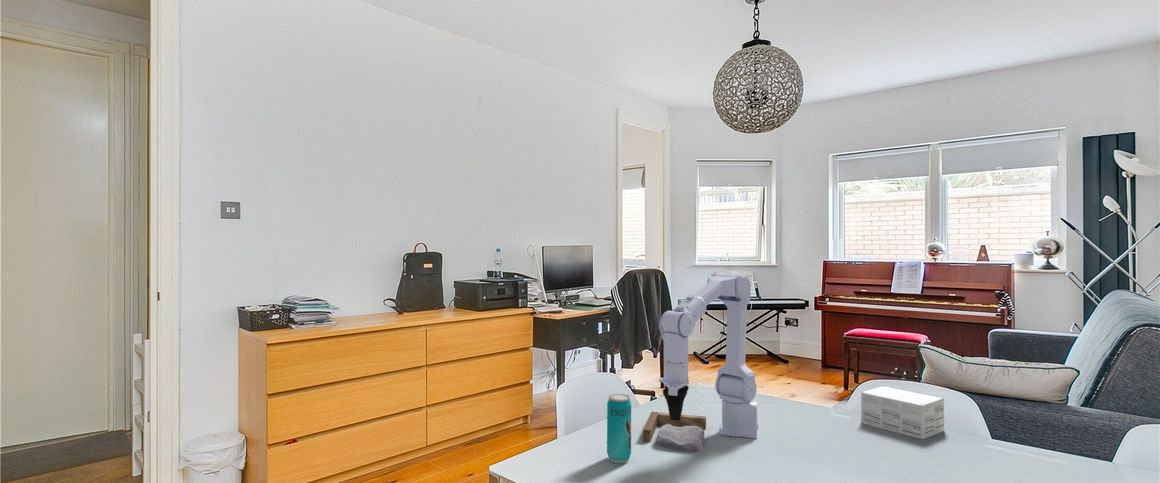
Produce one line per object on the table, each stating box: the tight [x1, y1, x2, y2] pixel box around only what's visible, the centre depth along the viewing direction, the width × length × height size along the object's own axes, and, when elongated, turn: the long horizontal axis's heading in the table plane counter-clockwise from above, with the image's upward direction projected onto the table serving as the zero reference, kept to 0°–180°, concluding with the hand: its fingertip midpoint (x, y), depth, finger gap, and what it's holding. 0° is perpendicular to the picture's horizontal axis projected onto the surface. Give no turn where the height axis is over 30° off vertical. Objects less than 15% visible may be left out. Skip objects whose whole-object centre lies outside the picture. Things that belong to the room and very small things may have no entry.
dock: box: [642, 411, 707, 443], centre depth 147 cm, size 16×16×3 cm
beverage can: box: [606, 393, 632, 464], centre depth 129 cm, size 6×6×15 cm
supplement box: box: [860, 386, 945, 440], centre depth 155 cm, size 17×13×9 cm
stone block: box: [656, 424, 705, 453], centre depth 140 cm, size 12×5×10 cm
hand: (675, 418), depth 130 cm, fingers closed
